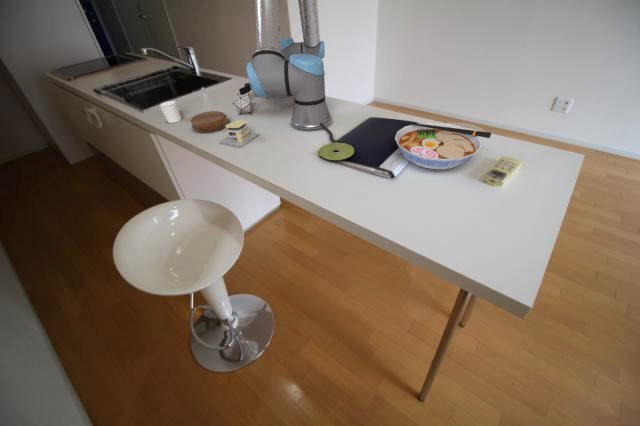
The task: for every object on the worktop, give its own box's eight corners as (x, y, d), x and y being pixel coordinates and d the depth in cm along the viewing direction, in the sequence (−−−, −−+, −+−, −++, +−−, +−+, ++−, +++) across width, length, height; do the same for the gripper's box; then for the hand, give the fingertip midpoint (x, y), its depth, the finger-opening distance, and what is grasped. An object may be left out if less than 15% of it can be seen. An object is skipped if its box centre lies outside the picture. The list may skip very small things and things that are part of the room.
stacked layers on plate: (239, 131, 109) (235, 117, 106) (258, 135, 106) (255, 120, 102) (221, 142, 103) (216, 128, 99) (240, 146, 99) (236, 131, 96)
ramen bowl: (376, 170, 83) (379, 144, 78) (403, 138, 97) (406, 114, 92) (469, 193, 72) (479, 165, 67) (484, 153, 87) (493, 127, 81)
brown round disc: (233, 127, 113) (230, 118, 111) (197, 136, 108) (193, 127, 106) (223, 115, 123) (221, 107, 120) (190, 123, 118) (187, 115, 115)
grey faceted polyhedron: (248, 123, 124) (239, 110, 115) (235, 112, 126) (225, 99, 117) (262, 108, 125) (254, 93, 115) (248, 98, 127) (239, 83, 117)
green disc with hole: (352, 166, 86) (352, 160, 84) (315, 164, 87) (315, 159, 86) (355, 148, 94) (355, 142, 93) (321, 147, 96) (321, 141, 94)
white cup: (186, 117, 123) (180, 101, 119) (174, 124, 119) (167, 107, 114) (174, 116, 126) (168, 99, 121) (162, 122, 121) (155, 105, 116)
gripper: (302, 90, 136) (278, 105, 122) (259, 85, 145) (232, 99, 131) (300, 73, 131) (275, 87, 117) (256, 69, 141) (228, 82, 126)
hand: (252, 94), depth 124 cm, fingers open, 13 cm apart
